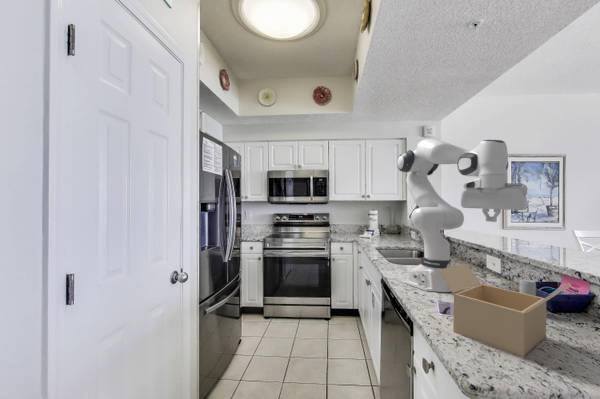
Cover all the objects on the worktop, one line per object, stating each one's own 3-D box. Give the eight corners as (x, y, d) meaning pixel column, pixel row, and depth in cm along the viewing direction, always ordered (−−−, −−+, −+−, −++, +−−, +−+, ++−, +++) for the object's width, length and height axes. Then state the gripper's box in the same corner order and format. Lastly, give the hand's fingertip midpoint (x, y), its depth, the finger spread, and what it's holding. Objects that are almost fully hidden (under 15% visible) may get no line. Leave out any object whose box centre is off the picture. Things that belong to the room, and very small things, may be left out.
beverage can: (538, 315, 101) (539, 282, 101) (523, 314, 102) (524, 281, 102) (530, 310, 106) (530, 279, 106) (516, 309, 107) (516, 278, 107)
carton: (453, 331, 88) (453, 293, 88) (480, 317, 99) (481, 283, 99) (523, 358, 73) (524, 313, 73) (546, 337, 84) (546, 298, 84)
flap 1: (465, 263, 103) (464, 263, 103) (438, 269, 92) (437, 270, 92) (480, 282, 99) (479, 283, 99) (454, 292, 88) (453, 293, 88)
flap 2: (551, 294, 69) (553, 296, 69) (570, 282, 80) (572, 284, 79) (524, 311, 73) (526, 313, 73) (546, 297, 84) (547, 299, 84)
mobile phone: (438, 313, 101) (436, 299, 114) (438, 315, 101) (436, 302, 114) (462, 317, 97) (457, 302, 111) (462, 319, 97) (457, 305, 111)
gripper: (530, 183, 93) (529, 223, 94) (466, 184, 110) (466, 219, 111) (524, 182, 90) (522, 224, 90) (459, 184, 107) (458, 219, 107)
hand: (491, 221), depth 100 cm, fingers closed
